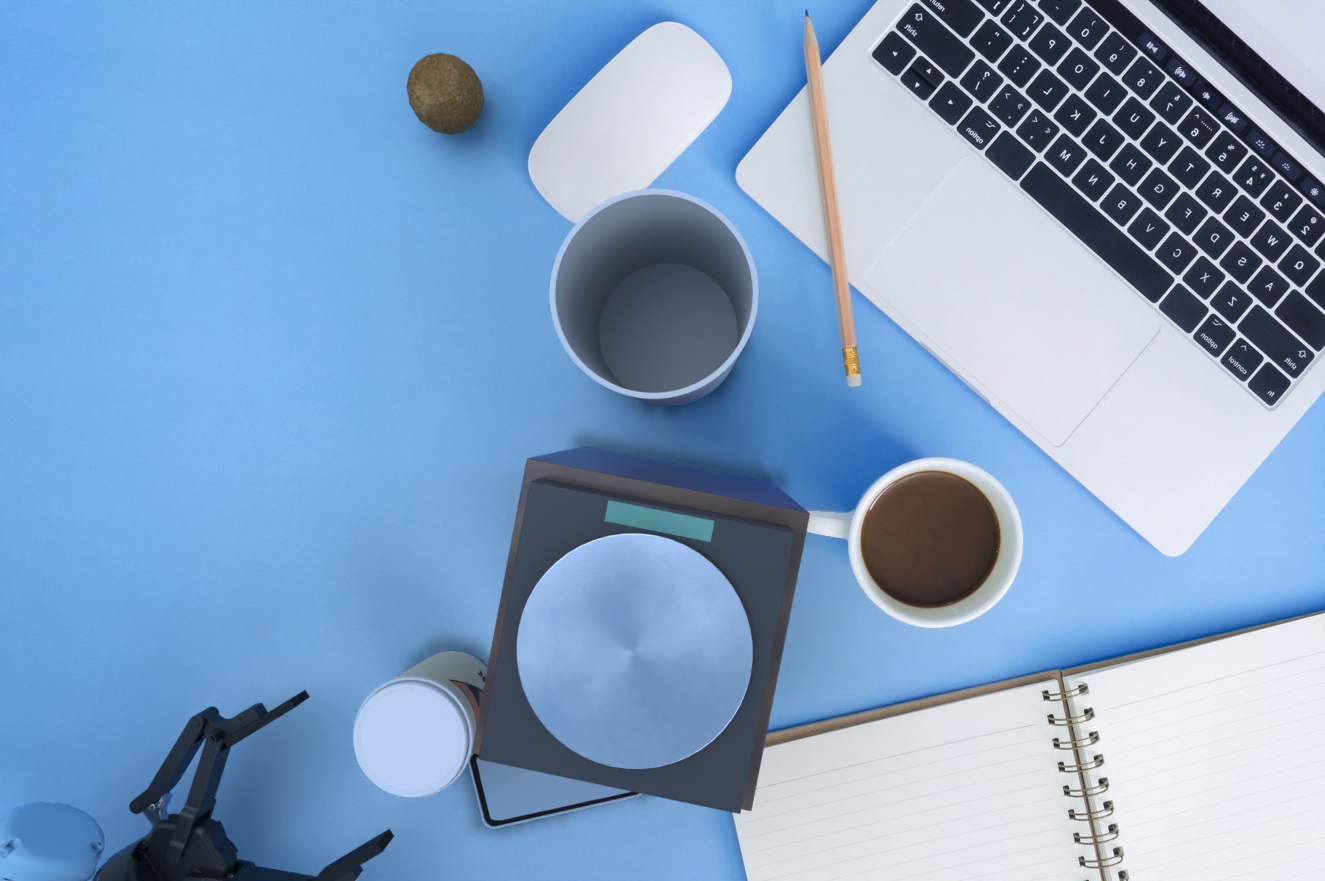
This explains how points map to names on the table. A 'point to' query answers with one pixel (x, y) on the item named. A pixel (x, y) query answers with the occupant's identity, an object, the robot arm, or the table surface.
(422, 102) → the fruit
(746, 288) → the cylinder vase
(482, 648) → the table surface
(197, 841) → the robot arm
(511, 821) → the smartphone
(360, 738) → the coffee cup
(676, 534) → the scale
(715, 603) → the scale pan
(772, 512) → the dark grey tall block
